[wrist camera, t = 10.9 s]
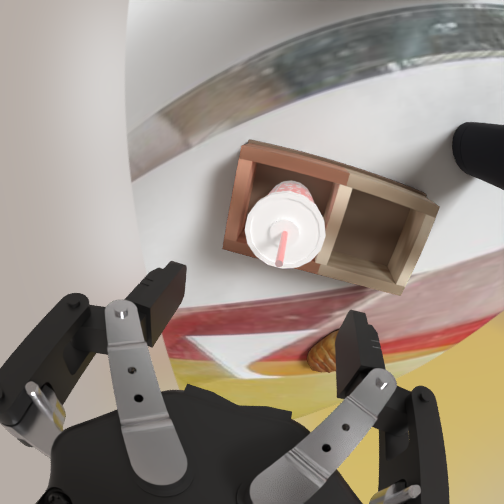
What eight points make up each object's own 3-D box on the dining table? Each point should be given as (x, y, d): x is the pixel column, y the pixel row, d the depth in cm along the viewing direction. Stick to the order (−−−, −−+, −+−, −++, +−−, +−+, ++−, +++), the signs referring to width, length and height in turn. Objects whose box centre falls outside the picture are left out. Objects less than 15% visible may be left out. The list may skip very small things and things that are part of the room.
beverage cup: (273, 235, 31) (250, 314, 18) (253, 184, 29) (211, 231, 16) (326, 220, 29) (341, 293, 16) (309, 165, 27) (314, 199, 14)
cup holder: (250, 139, 28) (240, 141, 23) (423, 192, 26) (442, 204, 22) (231, 233, 33) (220, 251, 28) (390, 275, 31) (400, 298, 27)
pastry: (320, 370, 40) (320, 388, 37) (297, 345, 39) (295, 364, 35) (374, 345, 37) (378, 364, 33) (354, 317, 35) (357, 335, 32)
